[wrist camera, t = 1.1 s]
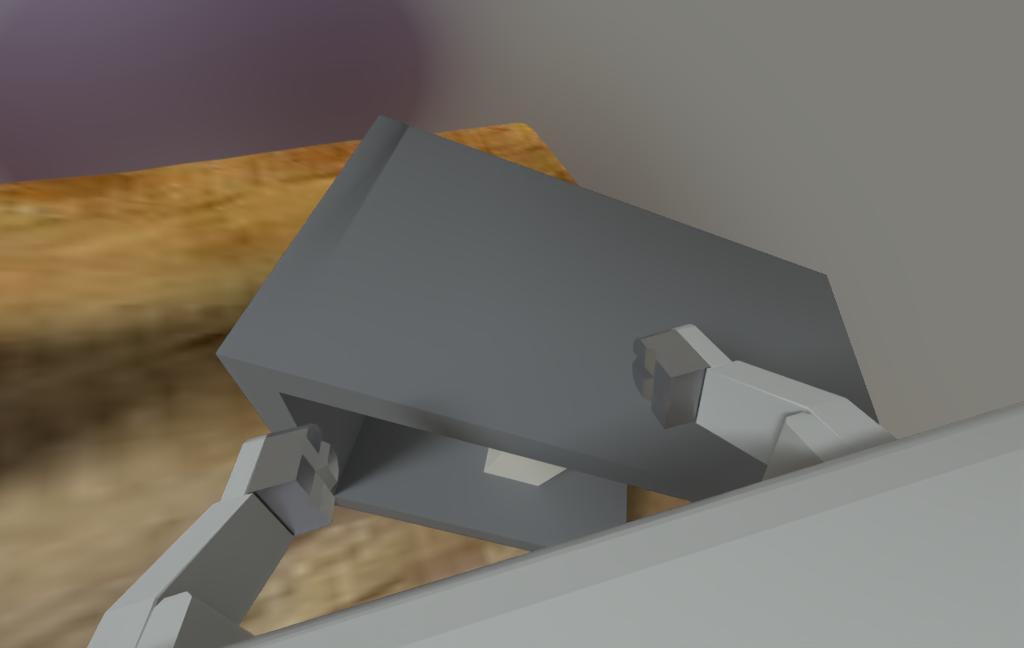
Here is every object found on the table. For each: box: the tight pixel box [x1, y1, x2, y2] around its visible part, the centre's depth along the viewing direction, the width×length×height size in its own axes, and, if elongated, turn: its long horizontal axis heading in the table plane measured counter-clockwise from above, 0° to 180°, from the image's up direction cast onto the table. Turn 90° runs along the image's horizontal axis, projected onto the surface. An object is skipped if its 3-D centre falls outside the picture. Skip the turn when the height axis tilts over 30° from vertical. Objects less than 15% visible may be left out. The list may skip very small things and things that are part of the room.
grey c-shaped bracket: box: [215, 115, 880, 552], centre depth 29 cm, size 26×14×28 cm, turn 80°
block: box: [484, 448, 567, 486], centre depth 32 cm, size 5×5×12 cm
